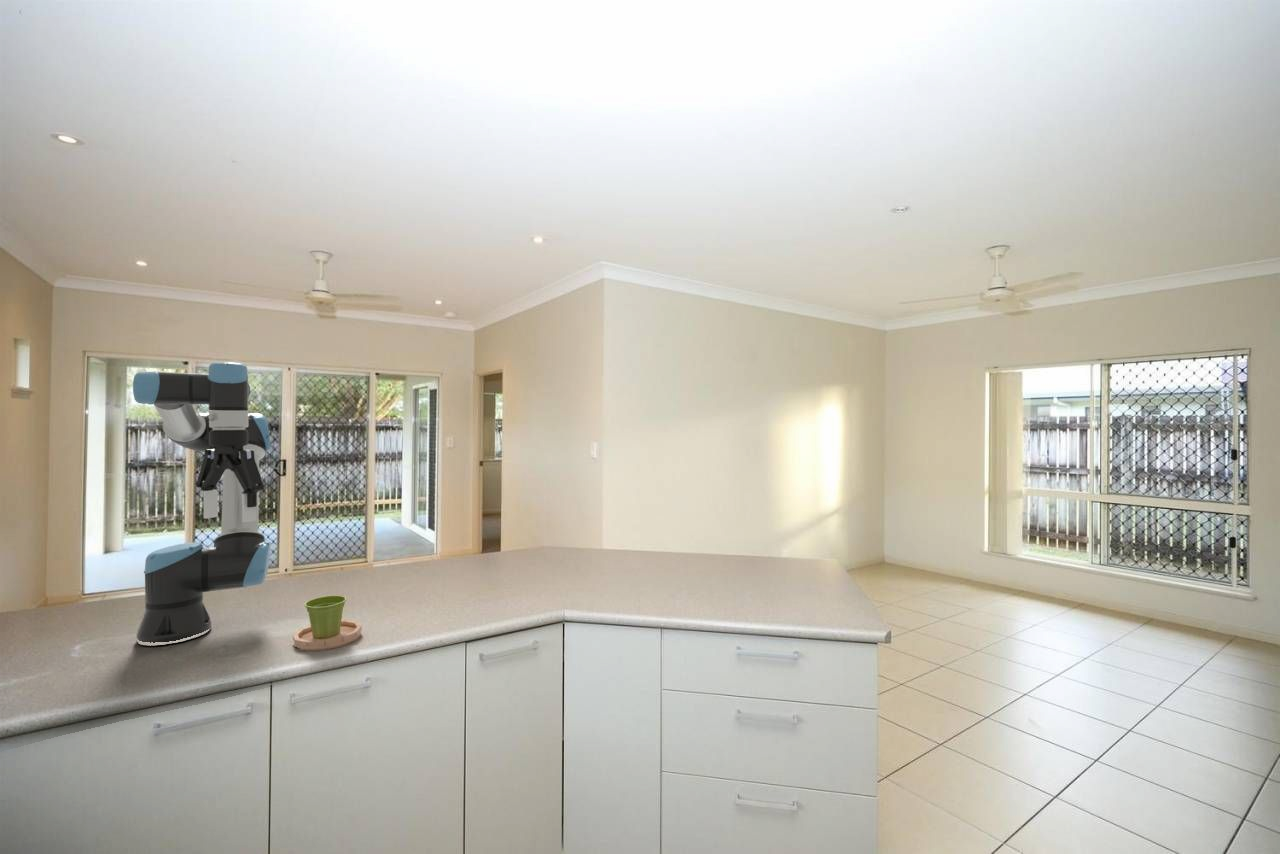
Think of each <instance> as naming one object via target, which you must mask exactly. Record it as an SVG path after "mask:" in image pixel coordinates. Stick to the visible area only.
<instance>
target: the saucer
mask: <svg viewBox="0 0 1280 854" xmlns="http://www.w3.org/2000/svg"><path fill="white" fill-rule="evenodd" d="M362 629H363V627H362V625H361V624H360V623H359V622H358V621H354V620H348V619H345V620H343V619H341V627H340V632H339V633H338V634H337V635H335V636H332V637H329V638H322V637H321V638H318V639H317V638H314V637H313V635H312V629H311V624H310V625H308V626H305V627H302V628H300V629H299V630H297V631H296V632H295V633H294V634H293V635H292V640H293V647H294V646H295V647H297V648H299V649H303V650H302V651H304V650H311V651H310V652H317V650H319V651H326V650H332V649H336V648H341V647H344V646H346V645H349V644H351V642H352V643H353V642H355V641H357V640H359V638H360V637H361V633H362ZM356 639H357V640H356ZM295 647H294V648H295ZM297 648H296V649H297ZM299 649H298V650H299ZM315 650H316V651H315Z"/></svg>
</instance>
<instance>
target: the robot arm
mask: <svg viewBox="0 0 1280 854" xmlns="http://www.w3.org/2000/svg"><path fill="white" fill-rule="evenodd" d="M208 365H209V366H208V373H195V372H193V373H192V372H172V371H171V372H170V371H169V372H168V371H166V372H165V371H164V372H163V371H154V370H153V371H140V372H137V373H135V374H134V376H133V381H132V392H133V393H132V394H133V398H134V401H135V402H136V403H138V404H143V405H145V404H147V405H153V406H154V407H155V409H156V411H157V413H158V414H159V416H160V418H161V421H163V422H162V430H163V432H164V433H165V435H166V437H167V438H168V439H169V440H170V441H172V442H174V443H175V444H177V445H179V446H181V447H183V448H186V449H188V450H191V451H195V452H201V453H202V452H203V453H204V458H203V461H202V464H201V468H200V471H199V474H198V476H197V477H198V478H197V480H196V482H195V487H196V488H200V489H201V491H202V492H203V494H202V499H203V500H202V502H203V519H213V518H218V517H219V515H218V514H219V510H218V509H219V507H218V506H219V503H218V501H219V499H218V498H219V496H218V493H219V491H218V489H219V488H218V487H217V485H218V484H219V482H220V480H221V478H222V476H223V480H222V481H223V483H222V504H221V524H220V525H221V527H220V530H221V531H220V535H218V536H217V537H215V538H214V540H213V546H208V547H206V546H205V547H204V545H203V543H202V542H201V541H195V542H184V543H179V544H174V545H170V546H169V545H168V546H166V547H162V548H159V549H156V550H153V551H152V552H150V553H149V554H148V555H147V556H146V558H145V560H144V561H145V562H144V563H145V565H144V570H143V574H144V590H145V591H144V595H145V597H144V599H145V600H144V603H145V605H144V607H145V610H144V613H143V616H142V619H141V620H140V623H139V626H138V629H137V632H136V638H137V639H138V640H139V641H142V642H150V643H151V642H153V643H155V642H169V641H176V640H180V639H183V638H187V637H191V636H193V635H196V634H199V633H202V632H204V631H206V630H208V629H210V628H211V629H212V619H211V617H210V615H209V613H208V611H207V607H206V606H205V603H204V593H207V592H216V591H222V590H223V591H225V590H232V589H239V588H241V589H242V588H243V589H244V588H247V587H252V586H258V585H261V584H262V583H264V582H265V581H266V578H267V575H268V571H269V566H270V565H269V564H270V556H271V547H272V545H271V541H267V540H265V539H266V538H265V534H263V533H261V532H260V531H259V524H260V523H259V519H260V518H259V513H260V512H259V510H260V509H259V506H260V504H259V502H260V500H259V499H260V498H259V497H260V491H264V489H265V485H264V482H263V480H262V479H263V478H262V477H261V474H260V461H261V460H262V459H263V458H264V457H265V456H266V452H268V451H271V450H272V446H271V437H270V430H269V423H268V419H267V417H266V416H265V414H262V413H252V412H249V409H248V408H249V405H248V404H249V402H248V401H249V396H250V395H251V385H250V384H249V381H248V380H249V375H248V374H249V373H248V367H247V365H245V364H244V363H239V362H238V363H237V362H212V363H210V364H208ZM195 405H208V406H209V407H208V412H198V411H197V409H196V407H195Z"/></svg>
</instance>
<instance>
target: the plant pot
mask: <svg viewBox="0 0 1280 854" xmlns="http://www.w3.org/2000/svg"><path fill="white" fill-rule="evenodd" d="M347 600H348V599H347V597H346V596H344V595H325V596H319V597H316V598H312V599H309V600H307V601H305V602H304V608H306V611H307V613H308V616H309V617H308V618H309V621H310V622H309V624H310V625H311V629H312V635H313V637H314V638H317V639H318V638H321V637H322V638H329V637H332V636H335V635H337V634H338V633H339V632H340V627H341V620H343V611H344V606H345V602H347Z"/></svg>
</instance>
